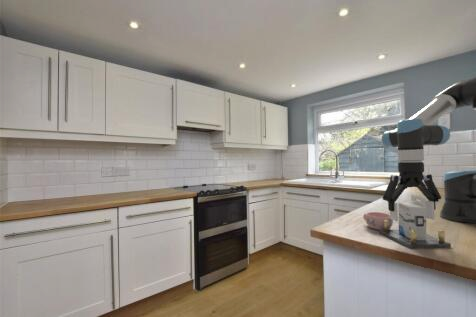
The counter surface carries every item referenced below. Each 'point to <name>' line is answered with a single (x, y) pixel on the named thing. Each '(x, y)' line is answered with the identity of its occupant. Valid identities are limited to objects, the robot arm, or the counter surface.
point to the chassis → (415, 238)
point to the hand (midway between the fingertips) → (412, 219)
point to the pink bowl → (377, 220)
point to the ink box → (413, 217)
